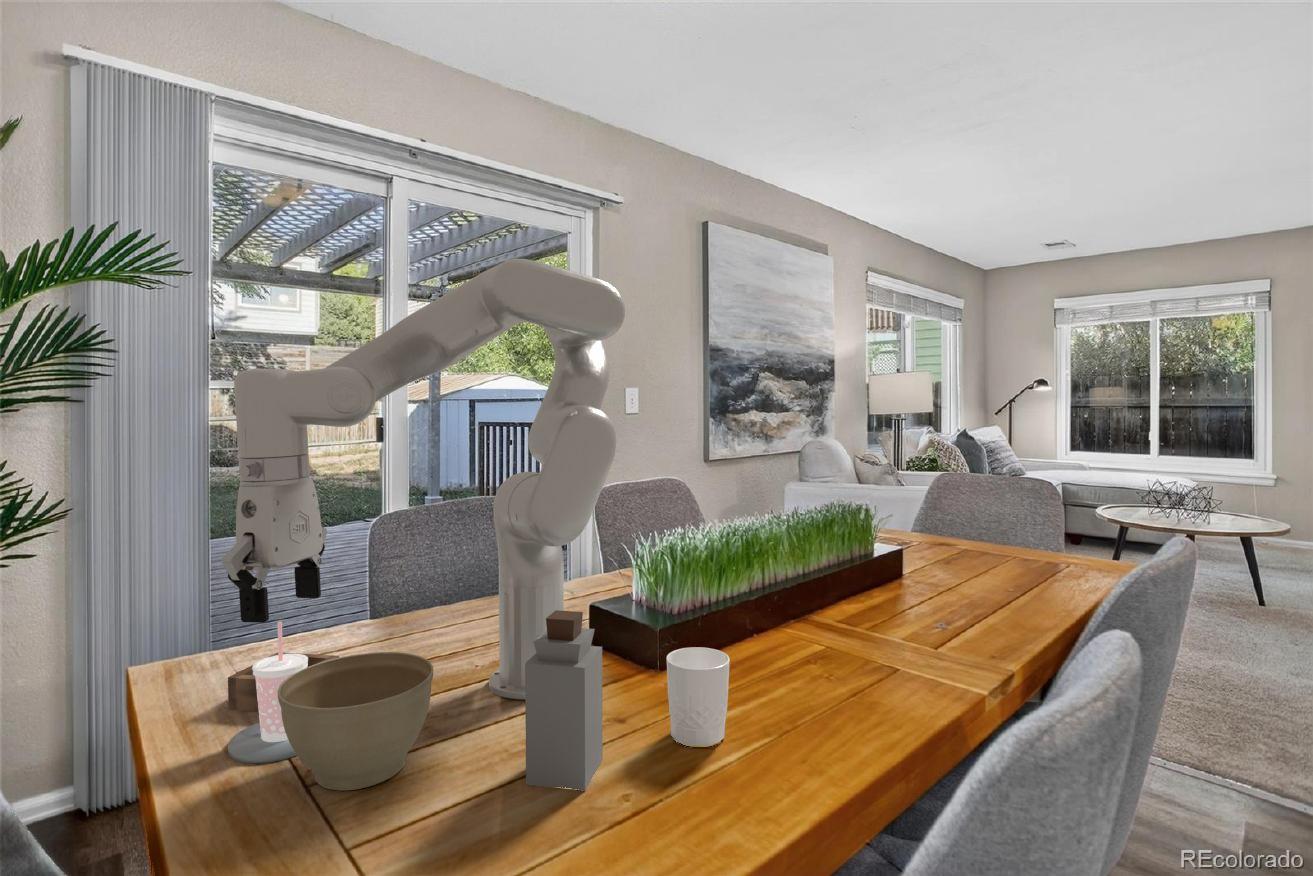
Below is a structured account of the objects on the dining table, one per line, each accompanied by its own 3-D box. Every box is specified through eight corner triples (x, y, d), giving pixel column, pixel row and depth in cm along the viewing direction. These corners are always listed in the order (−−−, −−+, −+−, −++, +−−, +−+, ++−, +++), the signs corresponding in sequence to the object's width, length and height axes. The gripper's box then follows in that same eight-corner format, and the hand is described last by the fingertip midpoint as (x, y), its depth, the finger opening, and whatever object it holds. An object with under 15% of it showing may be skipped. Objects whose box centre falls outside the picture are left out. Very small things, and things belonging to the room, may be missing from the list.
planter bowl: (316, 739, 87) (314, 653, 87) (448, 735, 89) (447, 650, 88) (250, 814, 71) (248, 708, 71) (413, 807, 72) (411, 704, 72)
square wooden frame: (339, 685, 104) (339, 655, 104) (295, 714, 94) (294, 681, 94) (278, 681, 106) (277, 652, 106) (228, 710, 96) (227, 677, 96)
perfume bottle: (585, 791, 76) (584, 626, 75) (526, 784, 77) (524, 622, 76) (602, 760, 82) (602, 608, 81) (547, 755, 83) (546, 605, 83)
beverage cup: (262, 725, 89) (259, 616, 89) (315, 720, 91) (312, 613, 90) (246, 748, 83) (243, 631, 83) (303, 742, 85) (300, 627, 84)
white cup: (711, 757, 83) (711, 674, 82) (654, 741, 87) (654, 661, 87) (739, 731, 90) (740, 654, 89) (686, 717, 94) (686, 643, 93)
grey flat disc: (347, 724, 92) (347, 718, 92) (291, 766, 81) (291, 759, 81) (270, 718, 93) (270, 712, 93) (206, 759, 82) (205, 752, 82)
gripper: (252, 479, 77) (261, 633, 78) (345, 463, 94) (351, 590, 95) (190, 479, 78) (200, 631, 79) (293, 464, 95) (301, 589, 96)
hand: (283, 608), depth 87 cm, fingers open, 9 cm apart
